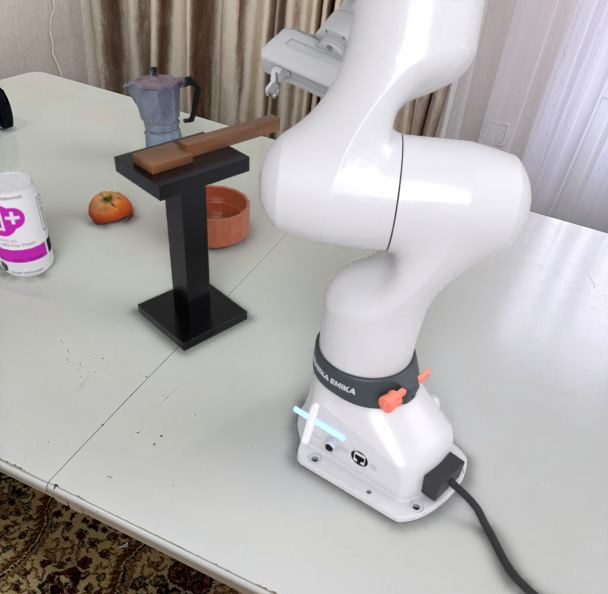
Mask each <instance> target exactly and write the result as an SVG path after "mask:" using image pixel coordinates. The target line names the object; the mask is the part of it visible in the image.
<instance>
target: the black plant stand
mask: <svg viewBox="0 0 608 594" xmlns="http://www.w3.org/2000/svg"><path fill="white" fill-rule="evenodd" d="M204 133H206V132H205V131H200V132H197V133H193V134H189V135H186V136H182V138H179V139H175V140H171V141H168V142H164V143H161V144H157V145H154V146H150V147H146V146H145V147H144V148H140V149H136V150H132V151H129V152H126V153H121V154H119V155H114V156H113V160H114V161H113V162H114V167H115V168H114V169H115V172H116V173H118V174H120V175H121V176H122V177H124V178H125V179H127V180H128V181H130V182H131V183H132V184H134V185H135V186H137V187H138V188H140V189H141V190H142V191H145V192H146V193H147V194H149V195H151V196H152V197H153V198H155V199H156V200H158V201H159V202H163V201H164V205H165V206H164V207H165V215H166V217H165V218H166V227H167V238H168V240H167V241H168V249H169V260H170V272H171V284H172V289H169V290H167V291H165V292H163V293H161V294H158V295H156V296H154V297H151V298H149V299H146V300H145V301H142V302H140V303H138V304H137V310H138V313H139V314H140V315H141V316H143V317H144V318H145V319H146V320H147V321H148V322H150V323H151V324H152V325H153V326H154V327H156V328H157V329H158V330H159V331H160V332H161V333H162V334H164V335H165V336H166V337H167V338H168V339H170V341H172V342H173V343H174V344H175V345H176V346H178V347H179V348H180V349H181V350H182V351H183V352H185V351H188V350H190V349H192V348H194V347H195V346H197V345H199V344H202V343H203V342H205V341H207V340H209V339H211V338H213V337H215V336H217V335H219V334H221V333H223V332H225V331H227V330H229V329H231V328H232V327H235V326H236V325H238V324H240V323H242V322H244V321H247V320H248V311H247V310H246V309H245V308H243V307H242V306H241V305H239V304H238V303H236V302H235V301H234V300H233V299H231V298H230V297H228V296H227V295H226V294H224V293H223V292H222V291H220V290H219V289H218V288H216V287H215V286H214V285H212V283H210V282H211V281H210V279H211V278H210V255H209V254H210V253H209V247H208V227H207V203H206V186H207V185H214V184H216V183H219V182H221V181H224V180H227V179H231V178H233V177H236V176H239V175H242V174H245V173H248V172H250V165H251V163H250V156H249V155H247V154H245V153H243V152H242V151H240V150H238V149H237V148H235V147H233V146H232V145H231V146H228V147H224V148H221V149H218V150H215V151H211V152H208V153H205V154H201V155H198V156H195V157H193V163H190V164H186V165H183V166H180V167H177V168H173V169H170V170H167V171H164V172H161V173H157V174H154V175H152V174H151V173H149V172H147V171H146V170H144V169H143V168H141V167H140V166H138V165H137V164H135V163H134V162H133V158H132V153H135V152H139V151H142V150H146V149H149V148H153V147H156V146H160V145H163V144H167V143H171V142H173V143H175V144H176V145H178V141H179V140H182V139H186V138H189V137H193V136H196V135H200V134H204Z"/></svg>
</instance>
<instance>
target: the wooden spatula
mask: <svg viewBox="0 0 608 594" xmlns="http://www.w3.org/2000/svg"><path fill="white" fill-rule="evenodd" d="M280 130H281V118H280V117H279V116H277V115H274V114H272V113H271V114H267V115H264V116H260V117H257V118H253V119H250V120H246V121H243V122H239V123H236V124H232V125H229V126H225V127H221V128H218V129H214V130H211V131H208V132H205V133H204V134H200V135H196V136H193V137H189V138H186V139H182V140H179V141H178V145H176V144H175V143H173V142H171V143H167V144H163V145H160V146H156V147H153V148H149V149H146V150H142V151H139V152H135V153H132V158H133V162H134V163H135V164H137V165H138V166H140V167H141V168H143V169H144V170H146V171H147V172H149V173H151V174H152V175H154V174H157V173H161V172H164V171H167V170H170V169H173V168H177V167H180V166H183V165H186V164H190V163H193V157H195V156H198V155H201V154H205V153H208V152H211V151H215V150H218V149H221V148H224V147H228V146H231V147H232V146H234V145H237V144H241V143H243V142H247V141H250V140H253V139H257V138H261V137H263V136H266V135H269V134H273V133H277V132H279V131H280Z"/></svg>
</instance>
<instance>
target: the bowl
mask: <svg viewBox="0 0 608 594" xmlns="http://www.w3.org/2000/svg"><path fill="white" fill-rule="evenodd" d="M206 203H207V227H208V249H209V248H212V249H213V248H214V249H218V248H226V247H231V246H234V245H236V244H238V243H241V242H243V241H244V240H245V239H246V238H247V237H248V236H249V234H250V229H251V201H250V199H249V197H248V196H247V194H245V193H243V192H242V191H240V190H238V189H236V188H233V187H230V186H225V185H214V184H210V185H207V186H206Z"/></svg>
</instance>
